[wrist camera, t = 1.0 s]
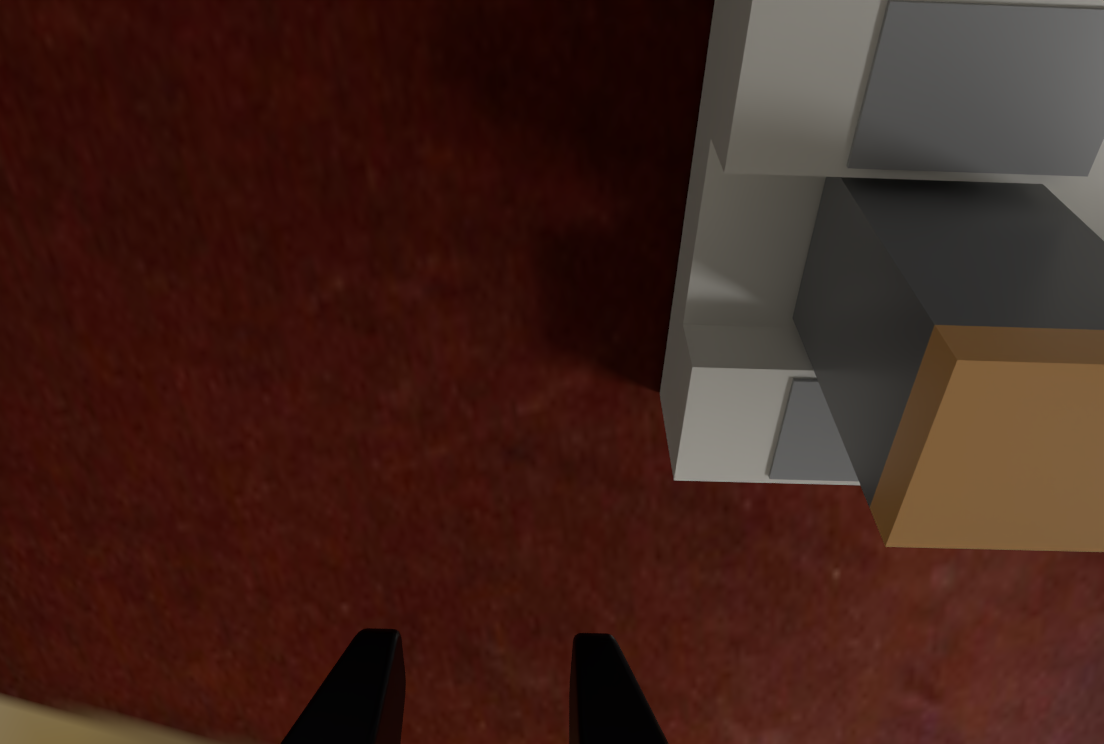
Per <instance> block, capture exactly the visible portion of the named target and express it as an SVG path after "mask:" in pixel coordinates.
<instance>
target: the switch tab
mask: <svg viewBox="0 0 1104 744" xmlns="http://www.w3.org/2000/svg"><path fill="white" fill-rule="evenodd" d="M792 318H793V321H794V323H795V326H796V328H797V331H798V333H799V336H800V338H801V340H802V343H803V345H804V348H805V350H806V353H807V355H808V358H809V360H810V363H811V365H812V367H813V370H814V372H815V375H816V377H817V380H818V382H819V385H820V387H821V390H822V392H823V394H824V397H825V399H826V402H827V404H828V407H829V409H830V412H831V414H832V417H833V419H834V421H835V424H836V426H837V429H838V431H839V434H840V436H841V439H842V441H843V444H844V446H845V448H846V451H847V453H848V456H849V458H850V461H851V463H852V466H853V468H854V471H855V473H856V475H857V478H858V480H859V483H860V485H861V488H862V490H863V493H864V495H865V498H866V500H867V502H868V505H869V507H870V510H871V512H872V515H873V517H874V520H875V522H876V525H877V527H878V529H879V532H880V534H881V537H882V539H883V542H884V544H885V547H918V548H959V549H1000V550H1041V551H1082V552H1104V241H1103V240H1102V239H1101V238H1100V237H1099V236H1098V235H1097V234H1096V233H1095V232H1094V231H1093V230H1091V229H1090V228H1089V227H1088V226H1087V225H1086V224H1085V223H1084V222H1083V221H1082V220H1081V219H1080V218H1079V217H1078V216H1076V215H1075V214H1074V213H1073V212H1072V211H1071V210H1070V209H1069V208H1068V207H1067V206H1066V205H1065V204H1064V203H1063V202H1061V201H1060V200H1059V199H1058V198H1057V197H1056V196H1055V195H1054V194H1053V193H1052V192H1051V191H1050V190H1049V189H1048V188H1046V187H1045V186H1044V185H1043V184H1029V183H1000V182H970V181H941V180H912V179H883V178H853V177H826V179H825V183H824V187H823V192H822V196H821V200H820V204H819V208H818V213H817V217H816V221H815V225H814V229H813V234H812V238H811V242H810V246H809V250H808V255H807V259H806V263H805V267H804V271H803V276H802V280H801V284H800V288H799V292H798V296H797V301H796V305H795V309H794V313H793V317H792Z"/></svg>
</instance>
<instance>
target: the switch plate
mask: <svg viewBox="0 0 1104 744" xmlns="http://www.w3.org/2000/svg"><path fill="white" fill-rule="evenodd" d="M826 177H853V178H883V179H912V180H941V181H970V182H1000V183H1029V184H1043V185H1044V186H1045V187H1046V188H1048V189H1049V190H1050V191H1051V192H1052V193H1053V194H1054V195H1055V196H1056V197H1057V198H1058V199H1059V200H1060V201H1061V202H1063V203H1064V204H1065V205H1066V206H1067V207H1068V208H1069V209H1070V210H1071V211H1072V212H1073V213H1074V214H1075V215H1076V216H1078V217H1079V218H1080V219H1081V220H1082V221H1083V222H1084V223H1085V224H1086V225H1087V226H1088V227H1089V228H1090V229H1091V230H1093V231H1094V232H1095V233H1096V234H1097V235H1098V236H1099V237H1100V238H1101V239H1102V240H1103V241H1104V0H715V2H714V9H713V16H712V23H711V30H710V38H709V45H708V52H707V59H706V66H705V73H704V81H703V88H702V95H701V102H700V109H699V116H698V124H697V131H696V138H695V145H694V152H693V159H692V167H691V174H690V181H689V188H688V195H687V202H686V210H685V217H684V224H683V231H682V238H681V245H680V253H679V260H678V267H677V274H676V281H675V288H674V296H673V303H672V310H671V317H670V324H669V331H668V338H667V346H666V353H665V360H664V367H663V374H662V381H661V389H660V399H661V405H662V411H663V417H664V423H665V429H666V435H667V441H668V448H669V454H670V460H671V466H672V472H673V478H674V480H681V481H720V482H758V483H797V484H835V485H860V483H859V480H858V478H857V475H856V473H855V471H854V468H853V466H852V463H851V461H850V458H849V456H848V453H847V451H846V448H845V446H844V444H843V441H842V439H841V436H840V434H839V431H838V429H837V426H836V424H835V421H834V419H833V417H832V414H831V412H830V409H829V407H828V404H827V402H826V399H825V397H824V394H823V392H822V390H821V387H820V385H819V382H818V380H817V377H816V375H815V372H814V370H813V367H812V365H811V363H810V360H809V358H808V355H807V353H806V350H805V348H804V345H803V343H802V340H801V338H800V336H799V333H798V331H797V328H796V326H795V323H794V321H793V318H792V317H793V313H794V309H795V305H796V301H797V296H798V292H799V288H800V284H801V280H802V276H803V271H804V267H805V263H806V259H807V255H808V250H809V246H810V242H811V238H812V234H813V229H814V225H815V221H816V217H817V213H818V208H819V204H820V200H821V196H822V192H823V187H824V183H825V179H826Z"/></svg>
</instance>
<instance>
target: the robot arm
mask: <svg viewBox="0 0 1104 744" xmlns="http://www.w3.org/2000/svg"><path fill="white" fill-rule="evenodd" d="M405 688H406V678H405V667H404V658H403V648H402V639H401V635H400V633H399V631H397V630H396V629H371V628H367V629H363V630H361V631H360V632H359V633H358V634H357V635H356V636H355V637H354V638H353V640H352V641H351V643H350V644H349V646H348V647H347V648H346V650H345V651H344V653H343V654H342V656H341V657H340V659H339V660H338V661H337V663H336V664H335V666H334V667H333V669H332V670H331V672H330V673H329V674H328V676H327V677H326V679H325V680H324V682H323V683H322V685H321V686H320V687H319V689H318V690H317V692H316V693H315V695H314V696H313V698H312V699H311V700H310V702H309V703H308V705H307V706H306V708H305V709H304V711H303V712H302V713H301V715H300V716H299V718H298V719H297V721H296V722H295V724H294V725H293V726H292V728H291V729H290V731H289V732H288V734H287V735H286V737H285V738H284V739H283V741H282V742H281V744H400V742H401V732H402V722H403V712H404V702H405ZM569 744H668V742H667V740H666V738H665V736H664V734H663V732H662V730H661V728H660V726H659V724H658V722H657V720H656V718H655V716H654V714H653V712H652V710H651V708H650V706H649V704H648V702H647V700H646V698H645V696H644V694H643V692H642V690H641V688H640V686H639V684H638V682H637V680H636V678H635V676H634V674H633V672H632V670H631V668H630V666H629V664H628V662H627V661H626V659H625V657H624V655H623V653H622V651H621V649H620V647H619V645H618V643H617V641H616V640H615V638H614V637H613V636H612V635H610V634H604V633H579V634H577V635H575V637H574V640H573V649H572V661H571V674H570V692H569Z"/></svg>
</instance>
